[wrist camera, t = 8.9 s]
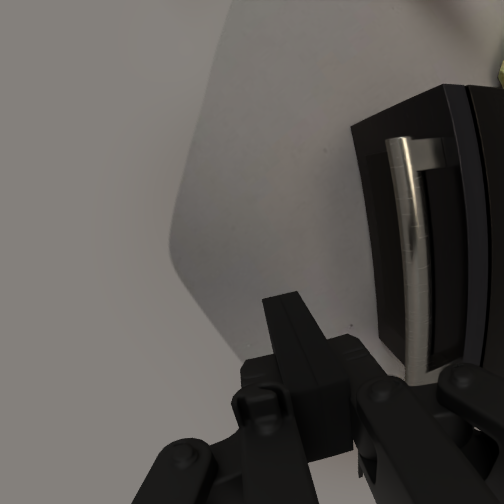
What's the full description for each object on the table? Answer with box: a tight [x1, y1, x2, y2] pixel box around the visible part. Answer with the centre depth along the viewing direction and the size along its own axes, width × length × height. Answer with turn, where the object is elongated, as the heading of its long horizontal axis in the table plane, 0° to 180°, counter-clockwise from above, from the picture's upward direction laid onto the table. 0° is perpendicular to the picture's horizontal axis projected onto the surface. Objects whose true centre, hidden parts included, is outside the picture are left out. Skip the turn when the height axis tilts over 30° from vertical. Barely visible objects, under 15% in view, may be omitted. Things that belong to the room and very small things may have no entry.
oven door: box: [351, 84, 488, 386], centre depth 21 cm, size 5×20×14 cm, turn 12°
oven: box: [465, 85, 504, 378], centre depth 21 cm, size 16×20×14 cm
